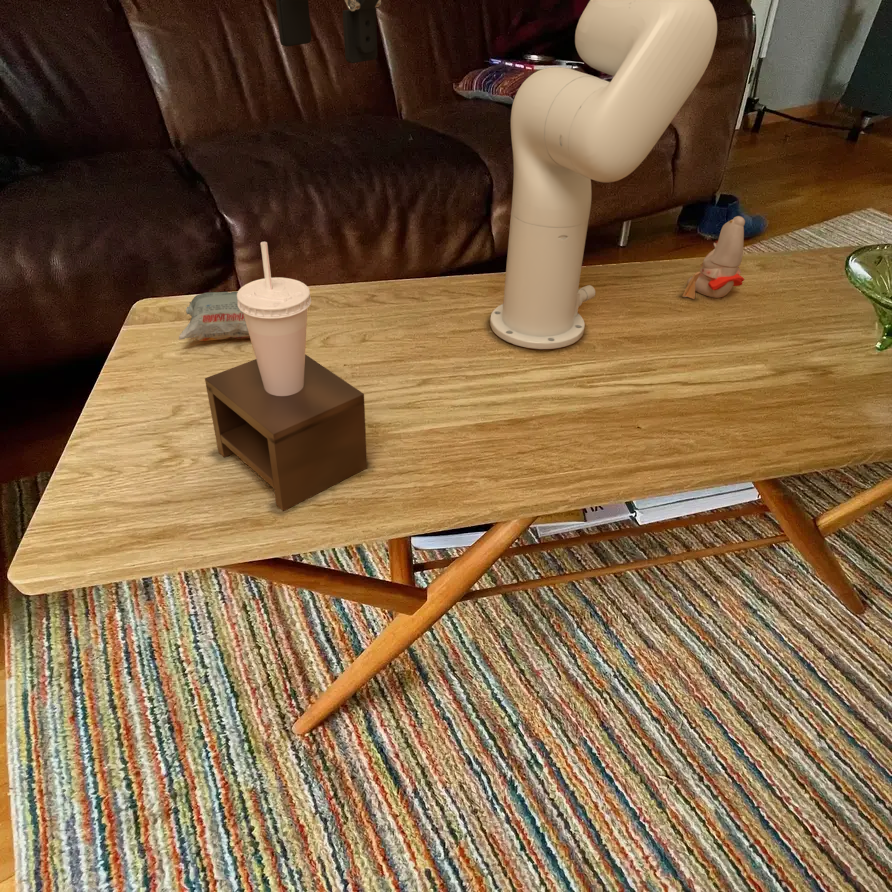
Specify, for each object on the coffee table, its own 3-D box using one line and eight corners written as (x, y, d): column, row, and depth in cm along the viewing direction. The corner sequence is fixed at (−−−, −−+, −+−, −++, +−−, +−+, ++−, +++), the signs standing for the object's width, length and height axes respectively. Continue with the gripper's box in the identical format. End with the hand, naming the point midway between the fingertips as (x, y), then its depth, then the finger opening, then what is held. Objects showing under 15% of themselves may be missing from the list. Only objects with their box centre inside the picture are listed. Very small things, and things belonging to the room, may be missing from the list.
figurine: (708, 276, 117) (741, 203, 109) (741, 299, 113) (777, 225, 105) (668, 286, 113) (699, 211, 105) (701, 310, 109) (735, 234, 101)
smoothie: (287, 361, 76) (272, 224, 67) (332, 384, 73) (322, 244, 64) (235, 386, 72) (212, 245, 63) (280, 412, 69) (263, 267, 60)
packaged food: (278, 347, 96) (274, 311, 93) (181, 352, 94) (173, 316, 91) (278, 316, 103) (275, 282, 100) (188, 320, 101) (181, 286, 98)
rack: (299, 416, 84) (292, 345, 78) (367, 468, 77) (364, 393, 72) (218, 452, 78) (204, 378, 73) (283, 511, 71) (273, 434, 66)
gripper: (420, -193, 56) (422, 61, 67) (285, -187, 66) (305, 34, 76) (340, -198, 52) (355, 74, 63) (208, -191, 62) (240, 43, 72)
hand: (327, 52), depth 69 cm, fingers open, 9 cm apart
